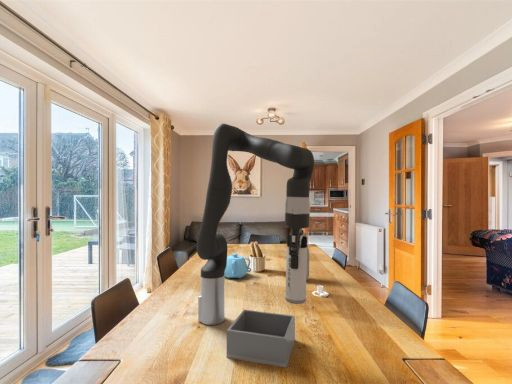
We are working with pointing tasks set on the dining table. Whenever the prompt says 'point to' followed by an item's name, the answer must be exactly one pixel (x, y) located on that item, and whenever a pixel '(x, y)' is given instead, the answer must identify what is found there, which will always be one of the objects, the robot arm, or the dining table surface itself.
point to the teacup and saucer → (320, 291)
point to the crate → (261, 338)
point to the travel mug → (296, 275)
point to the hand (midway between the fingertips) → (296, 265)
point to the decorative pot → (236, 266)
